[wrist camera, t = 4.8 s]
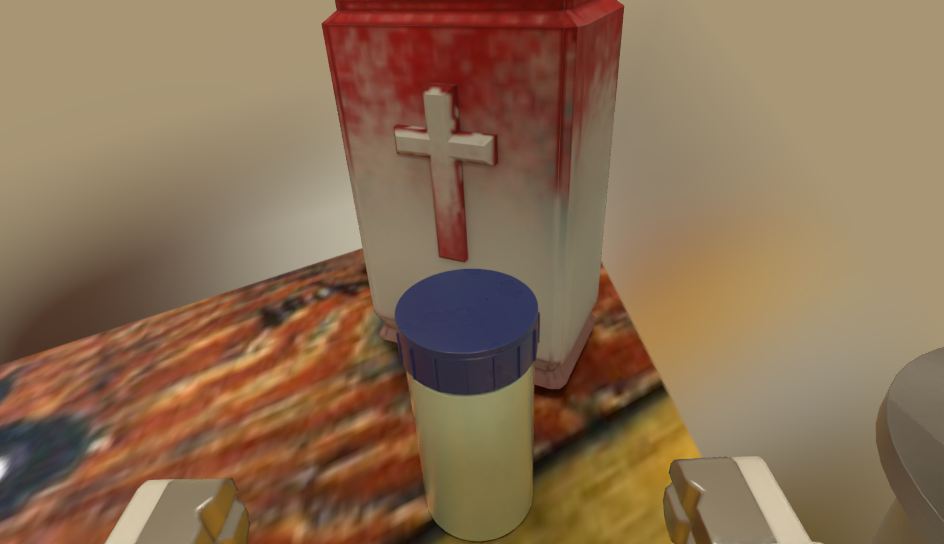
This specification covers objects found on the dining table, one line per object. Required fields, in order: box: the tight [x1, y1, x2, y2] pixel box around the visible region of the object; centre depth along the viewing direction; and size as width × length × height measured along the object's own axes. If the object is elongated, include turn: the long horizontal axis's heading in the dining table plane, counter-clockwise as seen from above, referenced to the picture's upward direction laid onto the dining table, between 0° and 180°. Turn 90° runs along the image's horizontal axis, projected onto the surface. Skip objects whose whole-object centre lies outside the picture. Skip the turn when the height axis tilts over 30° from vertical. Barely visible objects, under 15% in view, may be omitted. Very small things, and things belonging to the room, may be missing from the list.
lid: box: [395, 269, 540, 395], centre depth 23 cm, size 6×6×2 cm
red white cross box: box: [322, 0, 624, 389], centre depth 32 cm, size 14×10×30 cm
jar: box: [406, 361, 535, 541], centre depth 26 cm, size 6×6×12 cm
